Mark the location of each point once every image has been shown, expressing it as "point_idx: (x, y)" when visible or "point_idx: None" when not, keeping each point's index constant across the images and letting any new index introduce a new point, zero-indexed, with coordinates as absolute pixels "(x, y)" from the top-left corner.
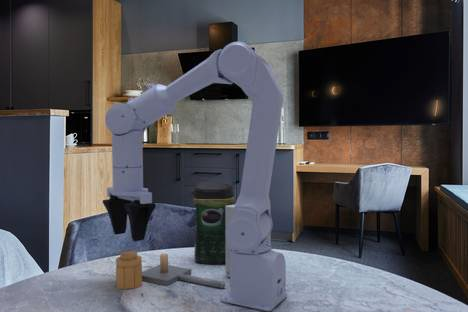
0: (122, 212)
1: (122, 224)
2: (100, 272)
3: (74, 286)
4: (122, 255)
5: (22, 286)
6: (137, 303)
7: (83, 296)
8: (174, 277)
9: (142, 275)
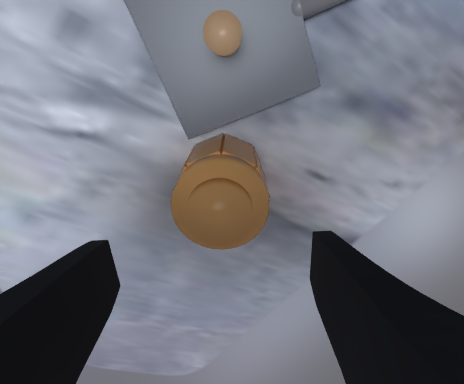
0: (21, 366)
1: (84, 289)
2: (61, 192)
3: (147, 274)
4: (230, 245)
5: None
6: (361, 210)
7: (228, 279)
8: (309, 43)
9: (213, 127)
